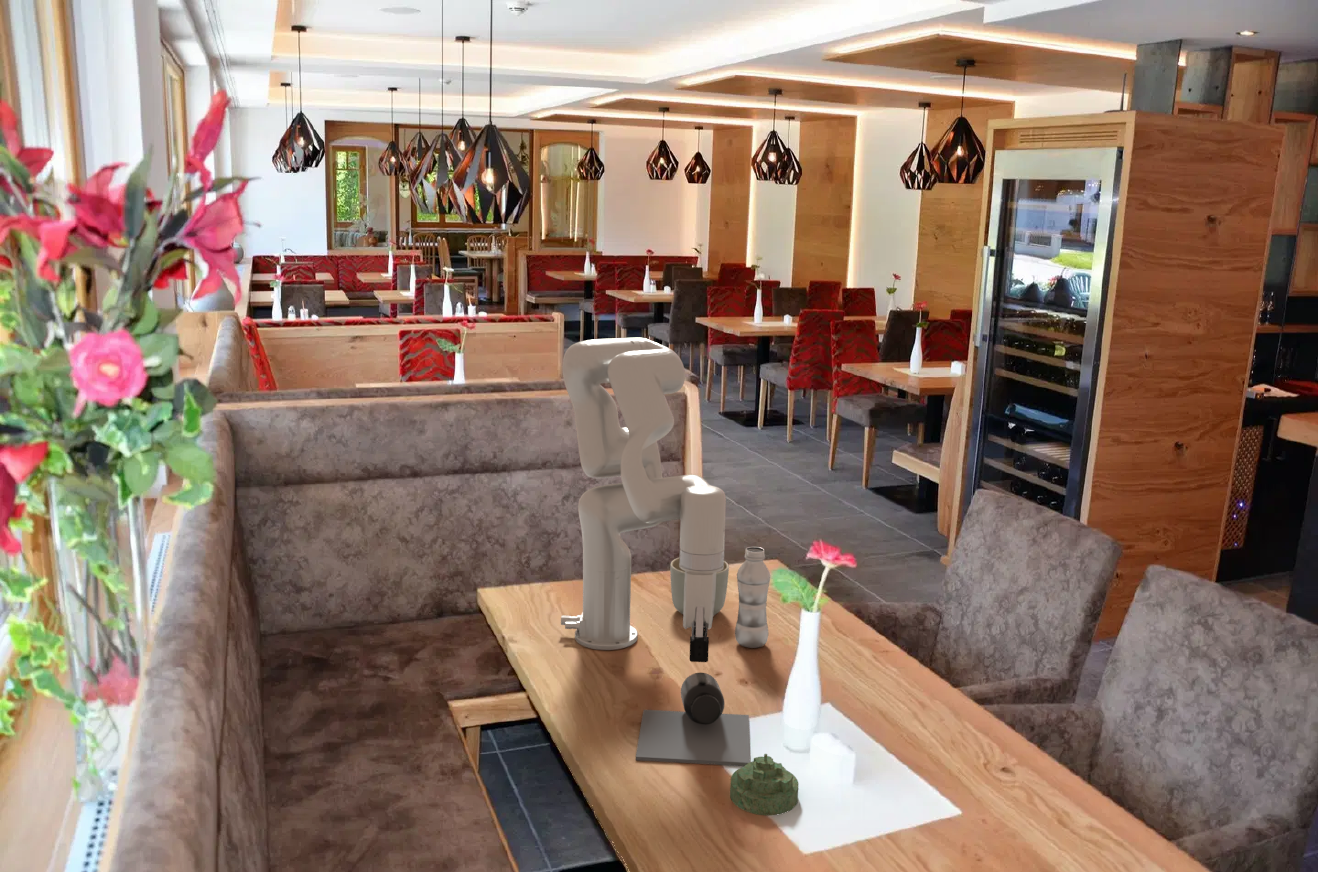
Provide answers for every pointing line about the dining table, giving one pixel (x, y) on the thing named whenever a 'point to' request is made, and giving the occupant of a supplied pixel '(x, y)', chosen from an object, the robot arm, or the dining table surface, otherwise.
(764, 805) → the decorative artifact
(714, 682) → the supplement bottle
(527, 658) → the dining table surface
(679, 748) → the mat
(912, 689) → the dining table surface
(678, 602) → the planter
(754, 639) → the plastic bottle
